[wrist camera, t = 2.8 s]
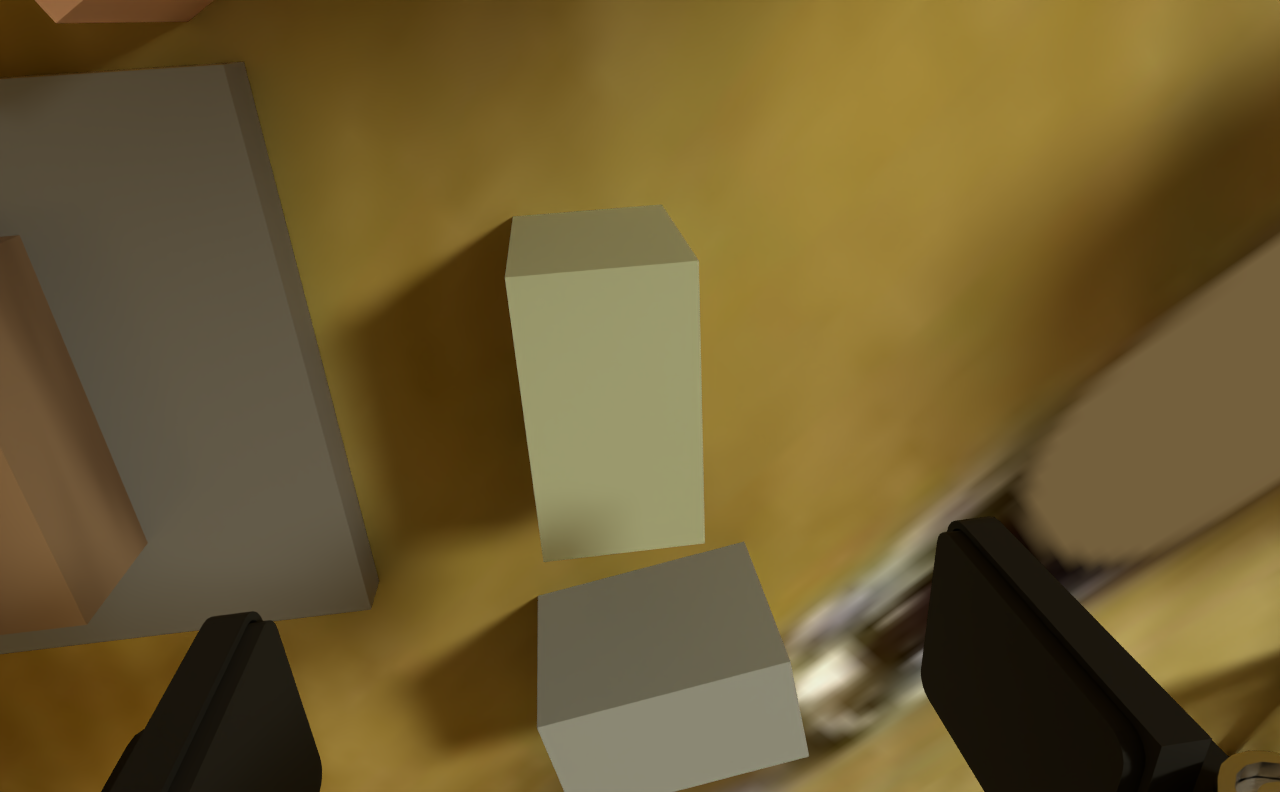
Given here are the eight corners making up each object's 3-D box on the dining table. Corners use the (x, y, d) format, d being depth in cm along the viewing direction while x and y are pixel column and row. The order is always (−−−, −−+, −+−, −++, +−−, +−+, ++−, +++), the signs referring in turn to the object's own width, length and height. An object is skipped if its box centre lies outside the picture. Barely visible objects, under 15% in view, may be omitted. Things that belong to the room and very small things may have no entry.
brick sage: (513, 215, 19) (505, 277, 14) (660, 204, 19) (698, 260, 14) (542, 449, 22) (543, 561, 17) (670, 435, 22) (704, 543, 17)
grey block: (743, 540, 24) (790, 661, 19) (761, 626, 25) (809, 756, 21) (538, 593, 24) (536, 727, 19) (569, 676, 25) (575, 817, 21)
